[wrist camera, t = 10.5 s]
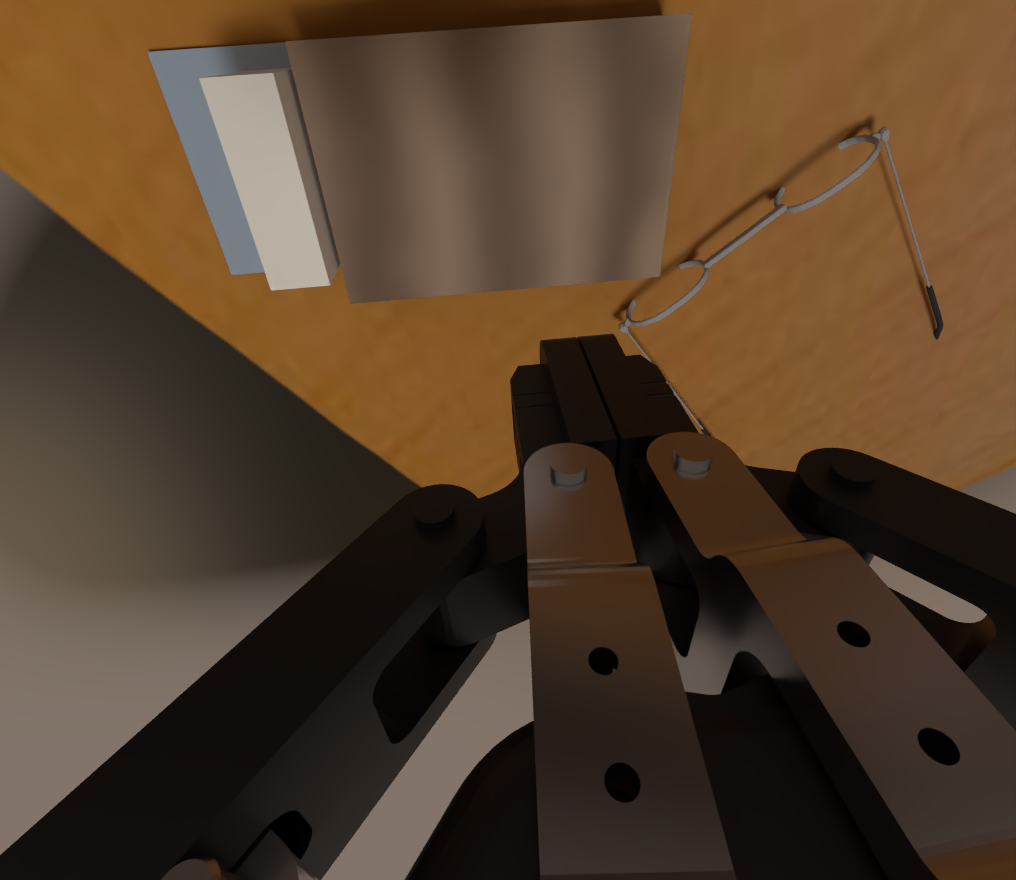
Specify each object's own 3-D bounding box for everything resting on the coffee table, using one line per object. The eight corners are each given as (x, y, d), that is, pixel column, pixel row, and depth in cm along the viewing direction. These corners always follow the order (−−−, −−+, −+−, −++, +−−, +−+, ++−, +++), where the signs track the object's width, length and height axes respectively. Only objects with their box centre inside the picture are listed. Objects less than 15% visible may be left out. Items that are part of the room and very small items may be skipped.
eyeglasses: (862, 114, 31) (910, 124, 28) (931, 330, 41) (972, 356, 38) (607, 310, 37) (622, 337, 34) (721, 457, 47) (741, 488, 44)
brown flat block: (663, 16, 27) (691, 13, 24) (640, 254, 34) (659, 276, 31) (304, 40, 26) (284, 41, 23) (359, 278, 33) (350, 303, 30)
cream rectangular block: (273, 72, 22) (199, 78, 22) (329, 285, 27) (271, 290, 27) (304, 66, 26) (243, 70, 26) (347, 248, 32) (297, 252, 32)
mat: (294, 41, 26) (293, 41, 26) (347, 263, 33) (347, 265, 33) (149, 51, 26) (147, 51, 26) (233, 273, 32) (231, 274, 32)
